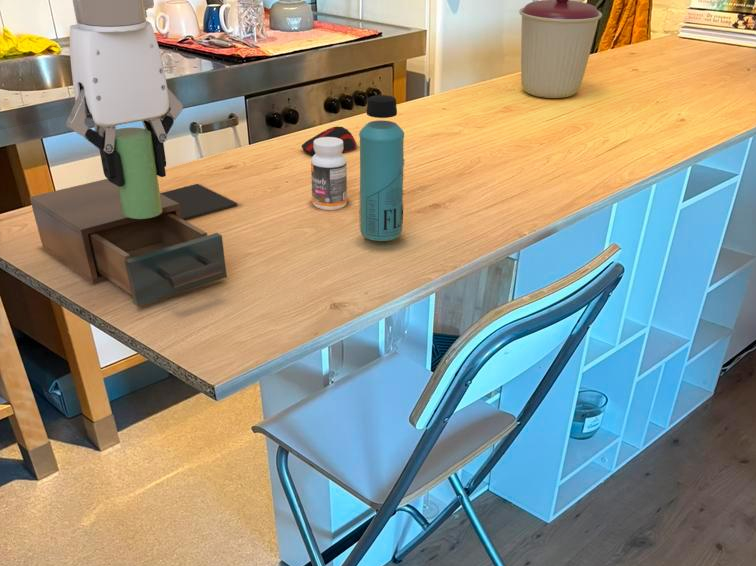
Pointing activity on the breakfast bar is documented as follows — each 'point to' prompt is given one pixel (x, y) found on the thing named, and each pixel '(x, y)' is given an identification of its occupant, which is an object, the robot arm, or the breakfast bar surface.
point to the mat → (198, 201)
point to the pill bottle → (329, 174)
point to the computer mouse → (335, 132)
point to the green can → (138, 174)
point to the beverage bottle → (381, 172)
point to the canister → (556, 46)
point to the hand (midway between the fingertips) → (136, 177)
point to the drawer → (158, 257)
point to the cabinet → (82, 222)
